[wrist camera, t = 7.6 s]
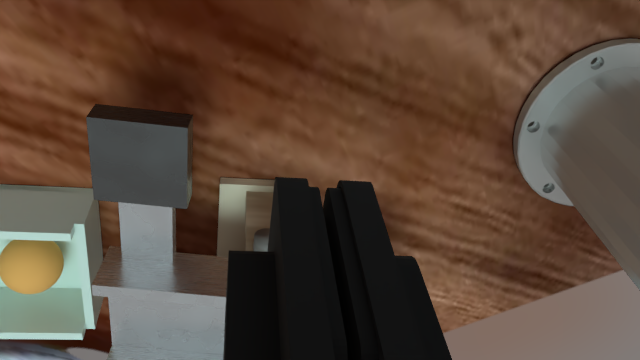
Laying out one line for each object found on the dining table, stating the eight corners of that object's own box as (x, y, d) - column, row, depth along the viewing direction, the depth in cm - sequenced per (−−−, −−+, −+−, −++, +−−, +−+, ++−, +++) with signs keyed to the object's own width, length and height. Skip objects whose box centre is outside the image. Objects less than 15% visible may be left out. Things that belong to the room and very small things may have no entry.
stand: (307, 175, 42) (320, 257, 35) (289, 310, 49) (297, 403, 42) (220, 171, 41) (215, 254, 34) (214, 309, 48) (208, 403, 41)
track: (446, 122, 35) (466, 172, 30) (388, 343, 44) (396, 407, 40) (109, 84, 34) (76, 131, 29) (125, 320, 43) (101, 383, 39)
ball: (57, 218, 42) (63, 253, 39) (63, 262, 44) (69, 299, 41) (-8, 227, 40) (-6, 265, 37) (1, 273, 43) (4, 312, 40)
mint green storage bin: (97, 188, 41) (64, 278, 34) (105, 289, 46) (78, 387, 39) (-50, 181, 40) (-118, 274, 32) (-25, 286, 45) (-80, 387, 37)
